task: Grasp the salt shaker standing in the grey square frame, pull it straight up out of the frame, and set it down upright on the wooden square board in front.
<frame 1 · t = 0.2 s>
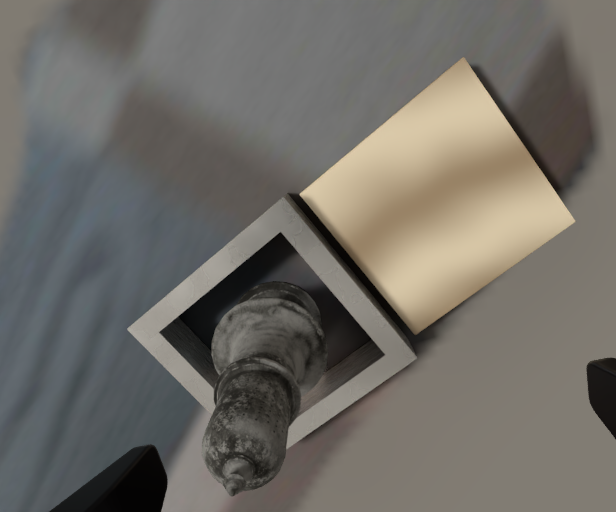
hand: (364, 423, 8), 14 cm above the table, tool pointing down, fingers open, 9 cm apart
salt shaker: (277, 322, 23), resting in grey square frame
grey square frame: (277, 324, 23), on the table
wooden square board: (430, 205, 21), on the table
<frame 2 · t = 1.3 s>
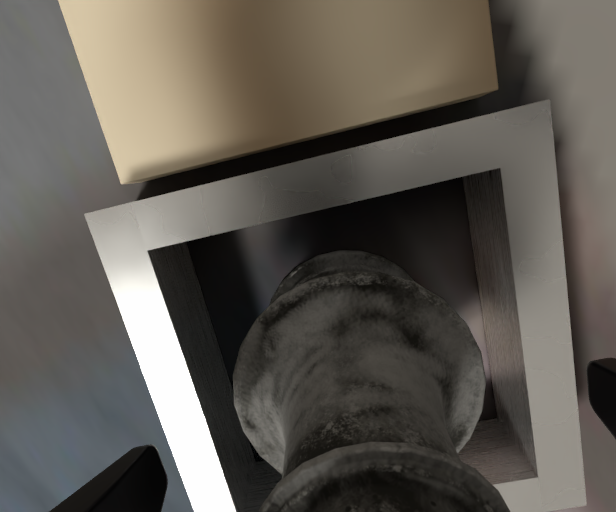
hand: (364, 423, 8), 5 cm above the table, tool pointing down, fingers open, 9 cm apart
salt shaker: (346, 326, 13), resting in grey square frame
grey square frame: (347, 329, 12), on the table
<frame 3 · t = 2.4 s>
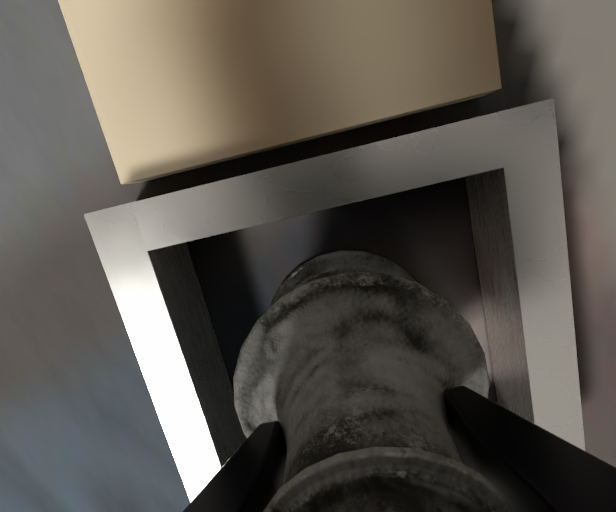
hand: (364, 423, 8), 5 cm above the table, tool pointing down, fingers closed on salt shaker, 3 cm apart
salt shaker: (348, 327, 12), resting in grey square frame, touching gripper
grey square frame: (348, 330, 12), on the table
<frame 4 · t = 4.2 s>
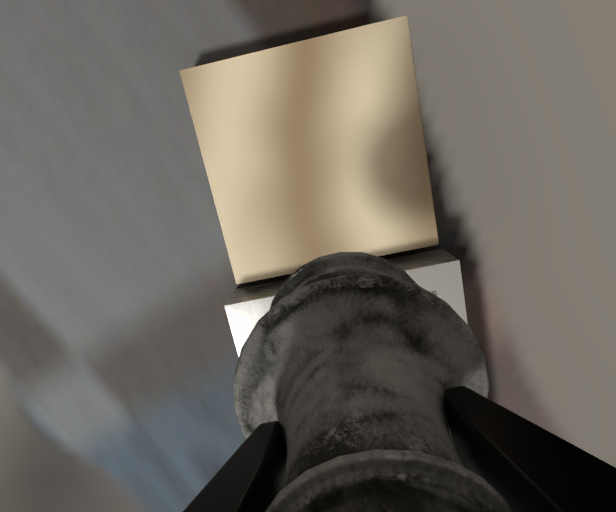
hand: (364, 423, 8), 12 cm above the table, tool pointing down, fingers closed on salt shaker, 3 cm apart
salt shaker: (348, 329, 12), point 8 cm above the table, touching gripper
grey square frame: (355, 362, 21), on the table
wooden square board: (314, 161, 19), on the table
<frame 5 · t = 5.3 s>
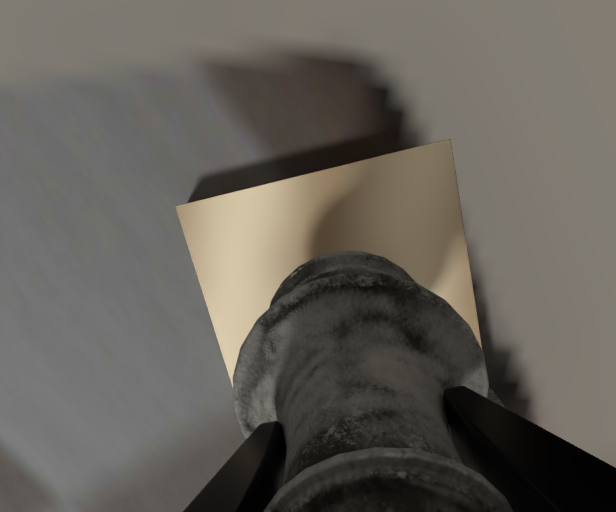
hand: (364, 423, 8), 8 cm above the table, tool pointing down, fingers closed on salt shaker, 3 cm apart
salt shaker: (347, 328, 12), point 3 cm above the table, touching gripper
wooden square board: (337, 293, 16), on the table
when the fingers open (7 cm above the table, at t = 6.2 s): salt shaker drops 1 cm, resting on wooden square board.
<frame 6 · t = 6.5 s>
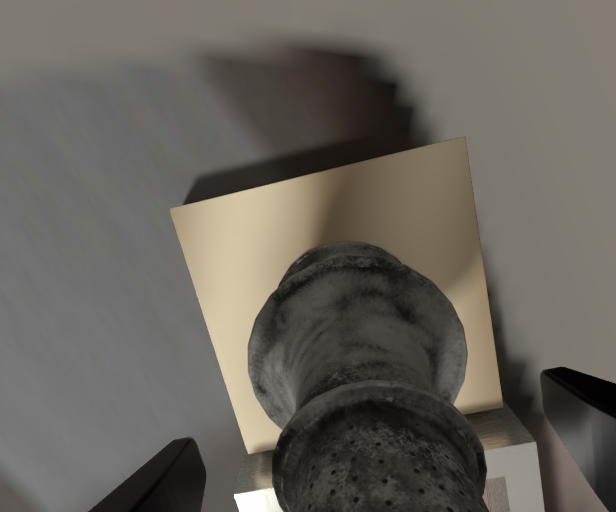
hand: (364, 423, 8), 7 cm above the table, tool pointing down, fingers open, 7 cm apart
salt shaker: (346, 311, 14), point 1 cm above the table, touching wooden square board
wooden square board: (342, 301, 15), on the table
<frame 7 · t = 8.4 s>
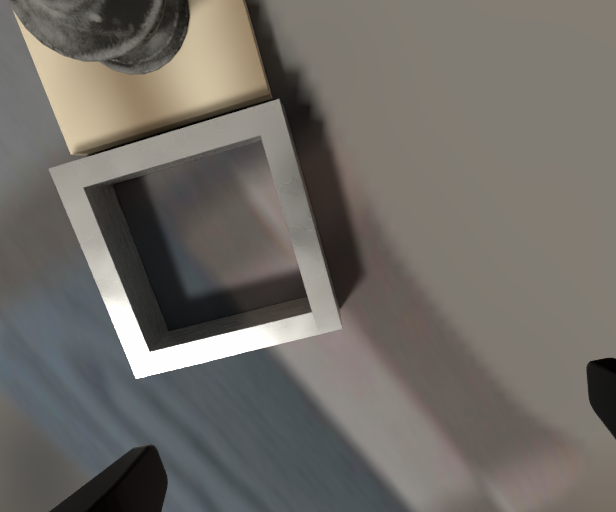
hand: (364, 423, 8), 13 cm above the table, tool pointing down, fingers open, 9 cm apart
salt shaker: (131, 11, 17), point 1 cm above the table, touching wooden square board
grey square frame: (215, 241, 20), on the table
wooden square board: (140, 20, 18), on the table
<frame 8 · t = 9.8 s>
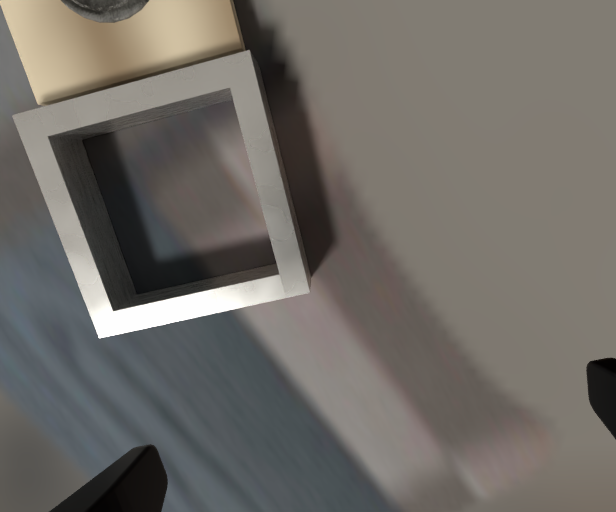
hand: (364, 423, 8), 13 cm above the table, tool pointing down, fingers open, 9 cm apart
grey square frame: (185, 202, 20), on the table
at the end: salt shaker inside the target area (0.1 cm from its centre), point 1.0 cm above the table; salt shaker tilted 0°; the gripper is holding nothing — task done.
